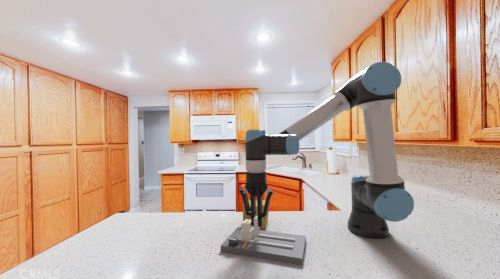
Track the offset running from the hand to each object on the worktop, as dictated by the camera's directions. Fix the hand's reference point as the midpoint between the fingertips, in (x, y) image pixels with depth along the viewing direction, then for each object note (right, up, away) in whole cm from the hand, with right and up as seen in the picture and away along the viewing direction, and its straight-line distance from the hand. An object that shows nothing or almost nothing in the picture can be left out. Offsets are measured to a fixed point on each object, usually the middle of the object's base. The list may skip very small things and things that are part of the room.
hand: (256, 234), depth 78 cm
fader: (-3, -2, +1) cm, 4 cm away
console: (+3, -4, -1) cm, 5 cm away
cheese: (0, -4, +19) cm, 19 cm away
